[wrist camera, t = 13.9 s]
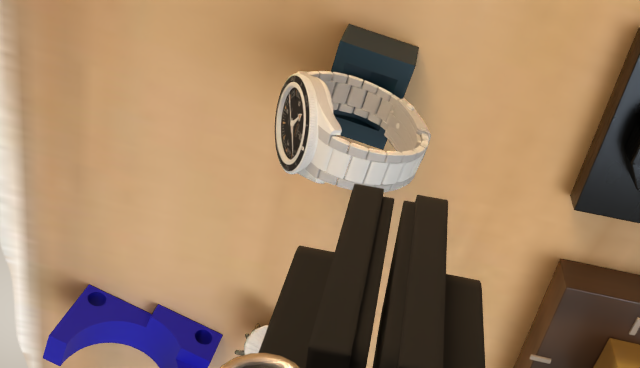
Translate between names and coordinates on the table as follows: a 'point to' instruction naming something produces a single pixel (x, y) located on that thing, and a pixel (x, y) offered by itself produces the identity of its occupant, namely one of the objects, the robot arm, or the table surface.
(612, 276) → the panel
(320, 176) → the watch
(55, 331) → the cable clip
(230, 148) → the table surface
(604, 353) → the tan bar
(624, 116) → the button block
